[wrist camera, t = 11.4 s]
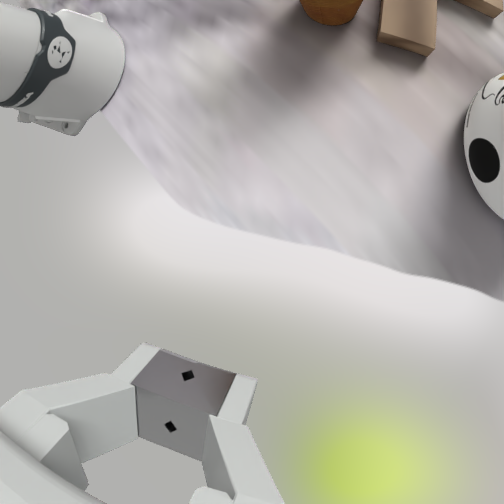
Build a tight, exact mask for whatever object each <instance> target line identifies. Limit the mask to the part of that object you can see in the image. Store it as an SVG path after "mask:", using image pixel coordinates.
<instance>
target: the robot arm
mask: <svg viewBox="0 0 504 504" xmlns="http://www.w3.org/2000/svg"><path fill="white" fill-rule="evenodd" d="M124 63H125V49H124V44H123V41H122V39H121V37H120V35H119V34H118V33H117V32H116V31H115V30H114V29H112V28H111V27H110V26H109V25H108V22H107V18H106V16H105V15H104V14H103V13H100V12H96V13H93V14H91V15H88V16H86V15H83V14H80V13H77V12H74V11H71V10H67V9H62V10H61V11H59V12H56V13H54V14H52V13H50V12H49V11H46V10H42V9H35V8H29V9H24V8H20V7H17V6H14V5H10V4H7V3H3V2H0V106H2V107H6V108H14V109H17V110H19V115H18V121H19V122H25V123H31V122H34V123H37V124H39V125H42V126H45V127H48V128H51V129H54V130H56V131H59V132H62V133H64V134H67V135H72V136H76V135H77V134H78V133H79V132H80V131H81V129H82V128H83V126H84V125H85V123H86V121H87V120H88V119H89V118H90V117H91V116H93V115H94V114H95V113H96V112H98V111H99V110H100V109H101V108H102V107H103V106H104V105H105V104H106V103H107V102H108V100H109V99H110V98H111V96H112V95H113V93H114V91H115V90H116V88H117V86H118V84H119V81H120V79H121V76H122V73H123V68H124ZM256 386H257V378H254V377H250V376H246V375H242V374H239V373H238V374H237V373H233V372H230V371H226V370H223V369H219V368H216V367H213V366H210V365H207V364H204V363H200V362H198V361H195V360H192V359H189V358H187V357H184V356H181V355H178V354H176V353H173V352H170V351H168V350H165V349H162V348H159V347H157V346H154V345H152V344H149V343H147V342H145V343H142V344H140V345H139V346H138V347H137V348H136V349H135V350H134V351H133V352H132V354H130V355H129V356H128V357H127V358H126V359H125V360H124V361H123V362H122V363H121V364H120V365H119V366H118V367H117V368H116V369H115V370H114V372H112V373H111V375H109V374H107V373H102V374H97V375H93V376H89V377H84V378H80V379H75V380H71V381H67V382H62V383H57V384H51V385H46V386H41V387H36V388H31V389H25V390H21V391H20V392H19V393H18V394H17V395H15V396H14V397H13V398H12V399H10V400H9V401H8V402H7V403H6V404H4V405H3V406H2V407H1V408H0V504H106V503H104V502H103V501H101V500H99V499H97V498H95V497H93V496H92V495H90V494H88V493H86V492H85V489H86V488H87V486H88V485H89V484H88V480H87V477H86V475H85V472H84V470H83V467H82V465H81V463H84V462H86V461H88V460H91V459H93V458H96V457H98V456H100V455H103V454H104V453H107V452H110V451H112V450H114V449H116V448H119V447H121V446H123V445H125V444H127V443H129V442H132V441H134V440H136V439H138V437H141V438H143V439H146V440H148V441H150V442H153V443H156V444H158V445H161V446H163V447H167V448H169V449H172V450H174V451H176V452H179V453H181V454H184V455H187V456H189V457H191V458H194V459H197V460H199V461H202V465H203V470H204V474H205V478H206V482H207V486H208V487H206V486H203V487H200V488H198V489H196V490H195V492H194V494H193V496H192V498H191V501H190V502H189V504H285V503H284V501H283V499H282V497H281V495H280V493H279V491H278V489H277V487H276V485H275V483H274V481H273V479H272V477H271V475H270V473H269V471H268V468H267V466H266V464H265V462H264V460H263V458H262V456H261V454H260V451H259V449H258V447H257V445H256V443H255V441H254V439H253V436H252V434H251V432H250V429H249V427H248V426H246V421H247V418H248V414H249V411H250V408H251V404H252V400H253V396H254V393H255V389H256Z"/></svg>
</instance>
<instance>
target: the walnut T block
mask: <svg viewBox="0 0 504 504" xmlns="http://www.w3.org/2000/svg"><path fill="white" fill-rule="evenodd" d="M454 1H457V2H459V3H462V4H464V5H466V6H468V7H471V8H473V9H475V10H477V11H479V12H481V13H483V14H486V15H488V16H490V17H492V18H495V17H496V16H498V15H499V14H500V13H501V12H503V0H454ZM436 22H437V0H381V6H380V16H379V25H378V34H377V42H381V43H385V44H388V45H392V46H395V47H399V48H402V49H405V50H408V51H411V52H414V53H417V54H420V55H423V56H426V57H428V56H429V55H430V54H431V52H432V51H433V50H434V49H435V42H436Z"/></svg>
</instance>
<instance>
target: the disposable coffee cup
mask: <svg viewBox="0 0 504 504" xmlns="http://www.w3.org/2000/svg"><path fill="white" fill-rule="evenodd" d="M362 1H363V0H300V2H301V4H302V6H303V8H304V10H305V12H306V13H307V15H308V16H309V17H310V18H311V19H313V20H314V21H316V22H318V23H321V24H325V25H341V24H344V23H347V22H349V21H350V20H351V19H353V18H354V16H355V15H356V13H357V11H358V9H359V7H360V5H361V3H362Z"/></svg>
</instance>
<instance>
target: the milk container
mask: <svg viewBox="0 0 504 504" xmlns="http://www.w3.org/2000/svg"><path fill="white" fill-rule="evenodd" d="M464 149H465V156H466V161H467V165H468V169H469V172H470V175H471V178H472V180H473V183H474V185H475V187H476V189H477V191H478V192H479V194H480V196H481V197H482V199H483V200H484V201H485V203H486V204H487V205H488V206H489V207H490V208H491V209H492V210H493V211H494V212H495V213H496V214H497V215H498V216H500V217H501V218H502V219H503V220H504V73H502V74H500V75H497V76H495V77H494V78H492V79H491V80H489V81H488V82H487V83H486V84H485V85H484V86H483V87H482V88H481V89H480V90H479V91H478V93H477V94H476V95H475V97H474V98H473V100H472V102H471V104H470V106H469V109H468V112H467V115H466V120H465V127H464Z"/></svg>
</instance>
